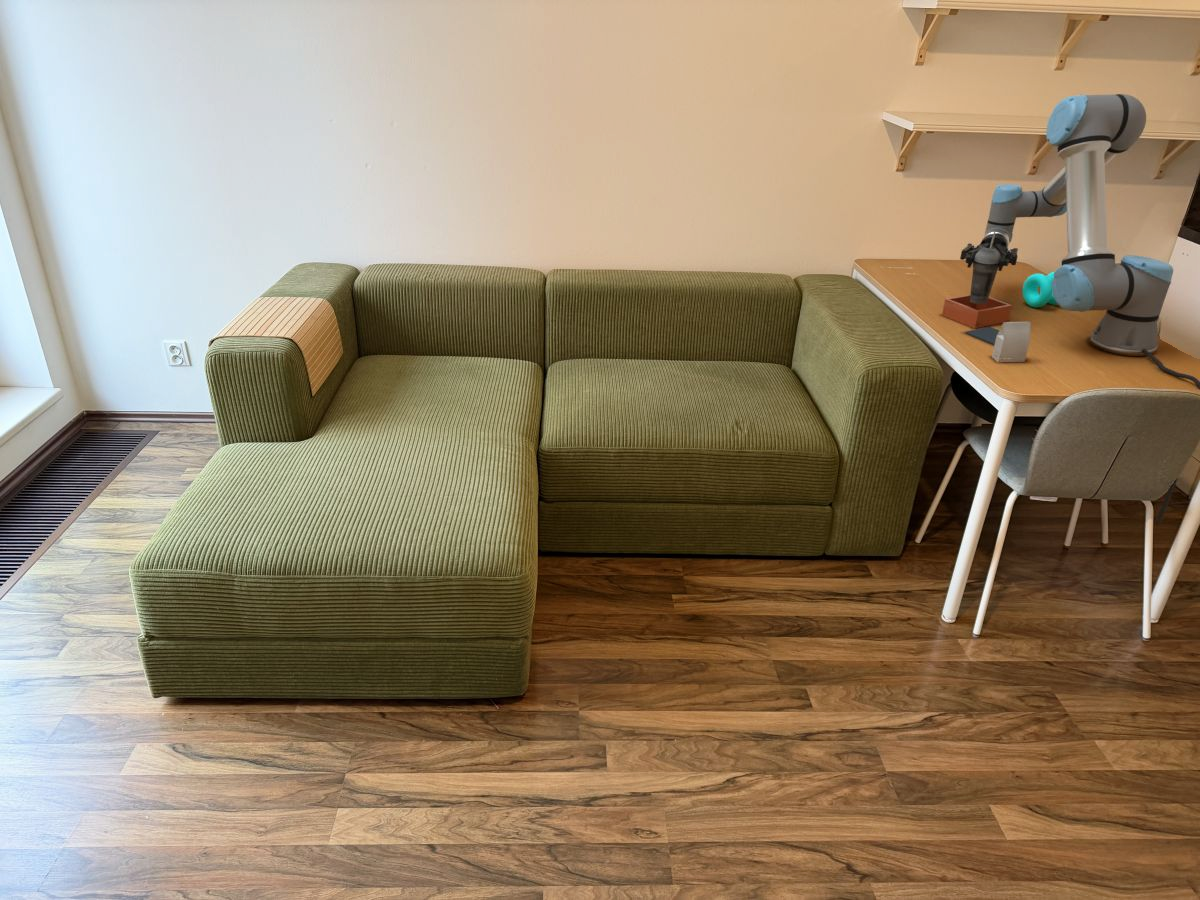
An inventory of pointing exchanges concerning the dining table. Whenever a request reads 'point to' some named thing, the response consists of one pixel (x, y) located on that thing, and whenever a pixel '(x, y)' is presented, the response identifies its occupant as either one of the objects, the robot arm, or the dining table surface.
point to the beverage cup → (984, 273)
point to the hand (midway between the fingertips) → (985, 264)
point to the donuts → (1032, 293)
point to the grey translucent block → (1012, 342)
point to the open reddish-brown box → (976, 311)
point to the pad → (985, 334)
